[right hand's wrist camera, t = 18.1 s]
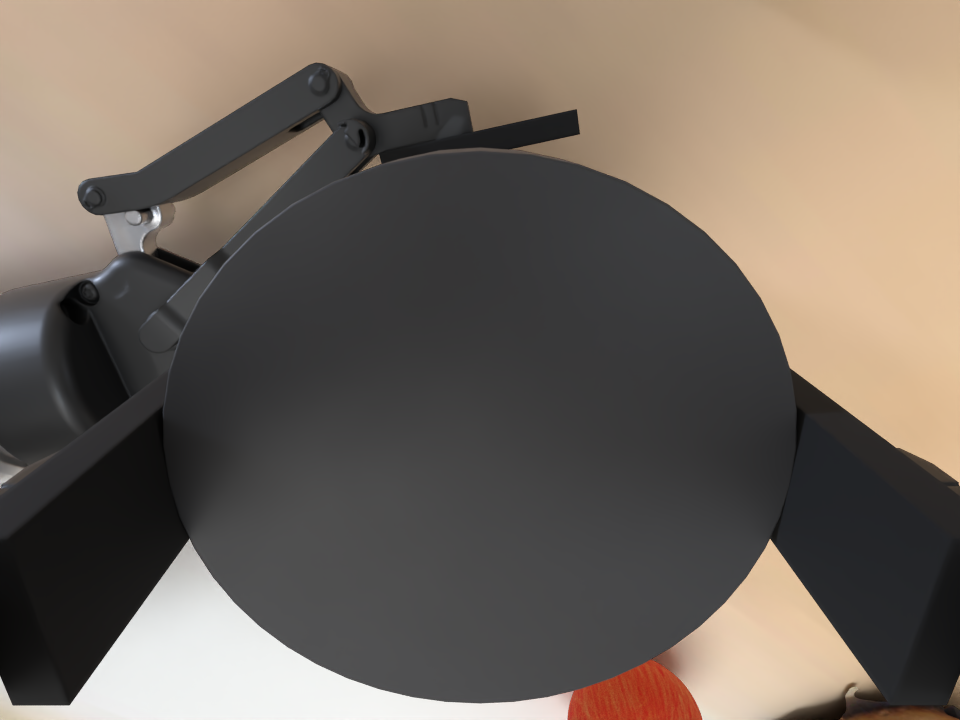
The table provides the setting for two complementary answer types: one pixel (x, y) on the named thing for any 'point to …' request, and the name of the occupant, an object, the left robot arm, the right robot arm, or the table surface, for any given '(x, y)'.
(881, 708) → the bread
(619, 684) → the apple
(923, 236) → the table surface
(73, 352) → the left robot arm
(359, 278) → the lid
